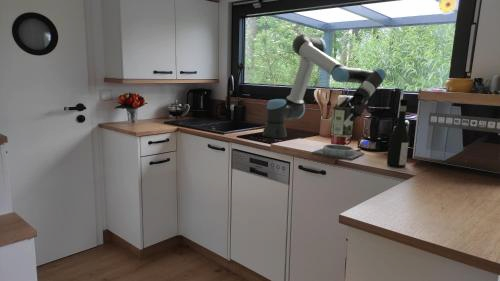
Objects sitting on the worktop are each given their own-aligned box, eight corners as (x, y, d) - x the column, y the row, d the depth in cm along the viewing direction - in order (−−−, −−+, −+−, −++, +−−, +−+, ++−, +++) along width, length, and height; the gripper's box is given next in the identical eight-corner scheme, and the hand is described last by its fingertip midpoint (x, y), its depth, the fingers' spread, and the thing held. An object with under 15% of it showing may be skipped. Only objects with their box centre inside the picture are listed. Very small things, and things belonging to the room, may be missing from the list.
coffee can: (351, 134, 186) (353, 107, 184) (352, 137, 176) (355, 108, 174) (330, 133, 188) (332, 106, 186) (330, 136, 178) (333, 107, 176)
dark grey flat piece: (327, 148, 198) (327, 142, 197) (364, 154, 187) (364, 147, 186) (312, 153, 181) (312, 147, 181) (351, 160, 170) (352, 153, 170)
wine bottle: (407, 166, 165) (415, 99, 160) (403, 169, 158) (412, 100, 153) (388, 163, 169) (396, 98, 164) (384, 165, 163) (392, 98, 158)
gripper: (384, 99, 177) (357, 132, 172) (351, 96, 196) (326, 125, 191) (378, 88, 173) (350, 121, 168) (344, 86, 193) (319, 115, 188)
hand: (337, 123), depth 180 cm, fingers closed on coffee can, 10 cm apart
